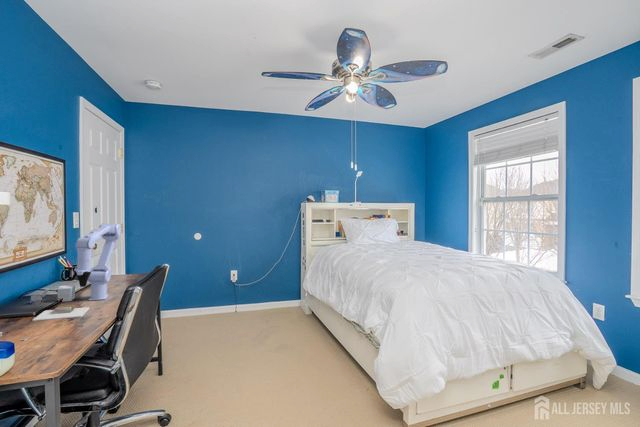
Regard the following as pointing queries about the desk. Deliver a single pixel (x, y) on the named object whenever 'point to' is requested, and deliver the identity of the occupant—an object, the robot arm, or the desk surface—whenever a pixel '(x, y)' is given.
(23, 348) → the desk surface
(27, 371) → the desk surface
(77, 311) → the mat
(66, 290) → the skincare box
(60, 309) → the brown wooden block
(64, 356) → the desk surface
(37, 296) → the lighter
